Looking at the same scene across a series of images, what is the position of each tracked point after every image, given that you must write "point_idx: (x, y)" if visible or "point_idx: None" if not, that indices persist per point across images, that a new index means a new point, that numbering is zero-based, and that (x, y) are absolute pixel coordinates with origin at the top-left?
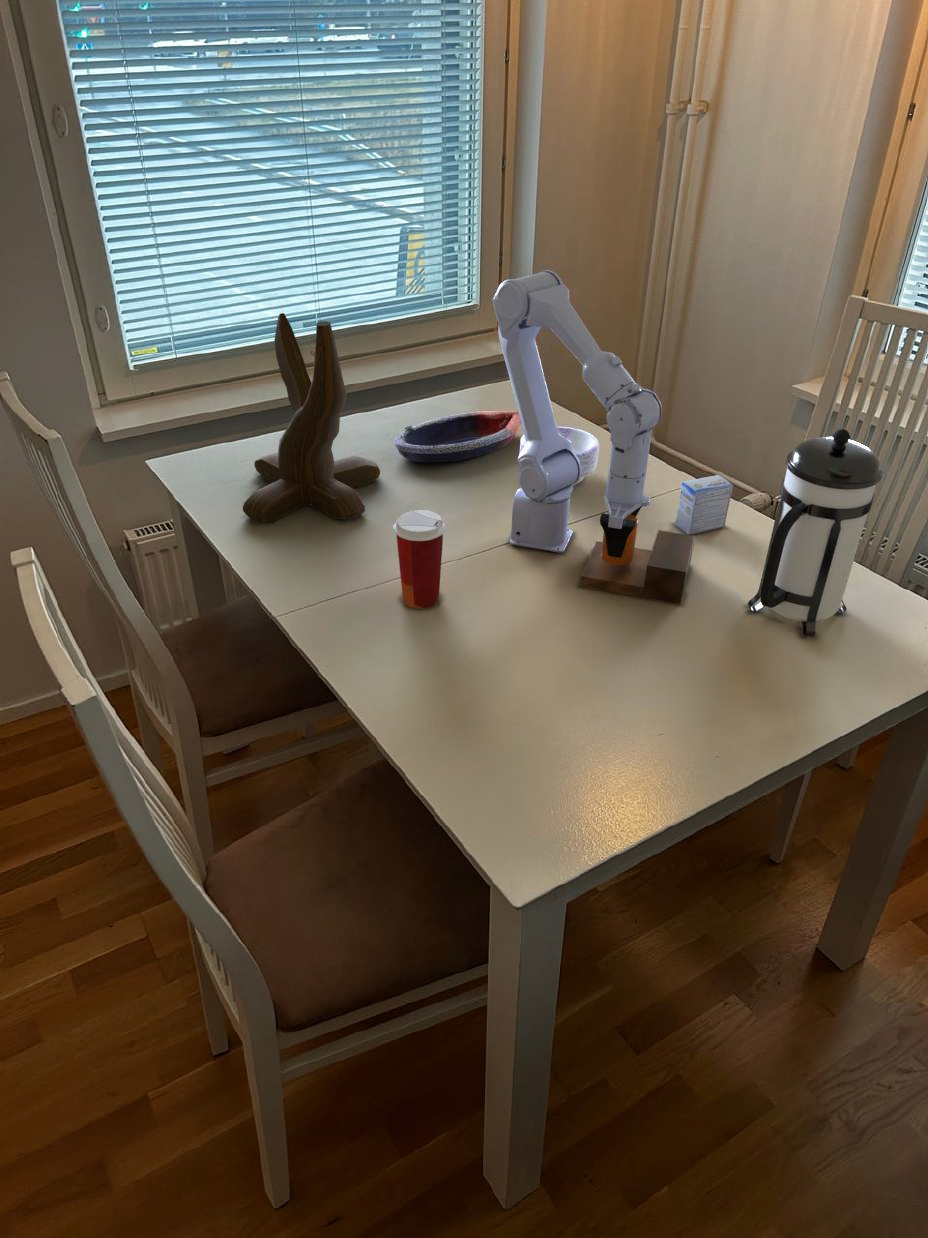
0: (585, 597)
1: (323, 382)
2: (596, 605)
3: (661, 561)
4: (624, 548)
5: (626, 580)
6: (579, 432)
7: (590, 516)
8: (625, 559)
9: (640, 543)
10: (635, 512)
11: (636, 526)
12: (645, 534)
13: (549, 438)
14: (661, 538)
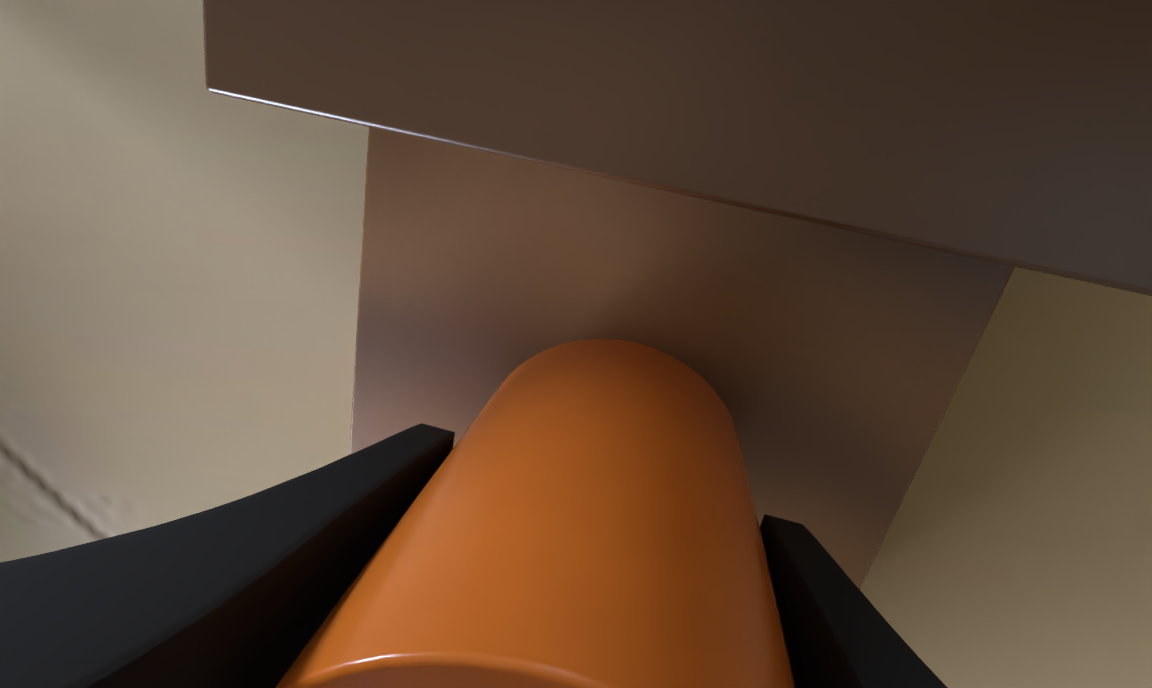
0: (933, 591)
1: None
2: (1042, 543)
3: (1148, 77)
4: (816, 571)
5: (891, 388)
6: None
7: (27, 476)
8: (735, 442)
9: (205, 205)
10: (177, 677)
11: (655, 648)
12: (80, 164)
13: None
14: (417, 53)
